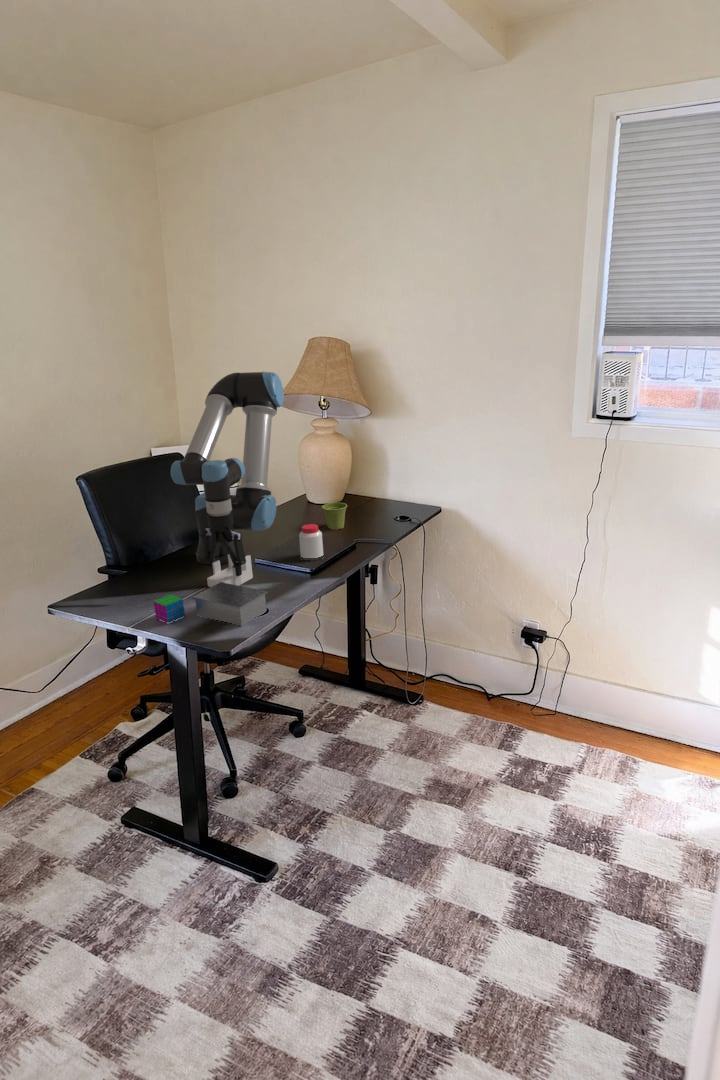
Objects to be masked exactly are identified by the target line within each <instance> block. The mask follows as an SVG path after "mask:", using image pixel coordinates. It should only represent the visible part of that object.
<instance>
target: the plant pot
mask: <svg viewBox="0 0 720 1080" xmlns="http://www.w3.org/2000/svg"><path fill="white" fill-rule="evenodd" d="M321 508H322V509H323V512H324V516H325V520H326V524H327V525H326V526H327V528H328V529H329V530H331V531H338V530H341V529H344V527H345V520H346V519H345V518H346V517H345V516H346V510H347V508H348V504H346V503H344V502H329V503H326V504H323V505H322V506H321Z"/></svg>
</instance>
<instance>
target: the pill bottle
mask: <svg viewBox="0 0 720 1080" xmlns="http://www.w3.org/2000/svg"><path fill="white" fill-rule="evenodd" d="M298 539H299V552H300V558H301V557H303V558H318V557H321V556H323V555H324V544H323V543H324V542H323V532H322V531H321V530H320V529H319V525H317V524H316V523H308V524H304V525H302V526H301V532H299V534H298Z"/></svg>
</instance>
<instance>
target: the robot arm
mask: <svg viewBox="0 0 720 1080" xmlns="http://www.w3.org/2000/svg"><path fill="white" fill-rule="evenodd" d="M207 393H208V394H207V395H206V398H205V401H204V404H205V408H204V410H203V413H202V416H201V417H200V420H199V422H198V424H197V427H196V429H195V432H194V434H193V436H192V439H191V441H190V444H189V446H188V448H187V450H186V453H185V455H184V457H183V459H180V460H174V462H172V464H171V466H170V477H171V479H172V481H173V483H175V484H176V485H185V486H196V485H198V486H199V485H201V486H203V492H204V493H201V494H199V495H197V497H195V499H194V502H195V503H194V504H195V505H194V506H195V509H194V510H195V514H196V516H195V517H196V521H197V530H198V538H199V539H198V544H197V548H196V553H195V555H196V561H197V562H198V563H199V564H203V565H209V566H211V567H210V568H211V571H212V572H213V575H214V574H216V573H218V572H220V571H222V567H221V565H224V564H229V562H228V555H230V557H231V560H232V562H233V565H234V566H232V573H233V581H234V585H239V586H241V585H243V584H242V583H241V575H242V570H241V565H243V564H245V563H246V558H245V556H246V554H245V549H244V544H243V533H242V532H235V531H238V530H239V531H254V532H257V531H266V530H268V529H270V528H271V527H272V525H273V523H274V521H275V518H276V514H277V501H276V498H275V496H273V495H272V491H271V490H270V488H269V487H268V480H269V479H268V476H269V463H270V462H269V461H270V452H271V451H270V447H271V437H272V436H271V434H272V421H273V417H274V416H276V415H277V412H278V408H280V407H282V406H283V405H284V402H285V393H284V386H283V383H282V380H281V378H280V377H279V375H278V374H277V373H275V372H273V371H271V372H270V371H259V372H258V371H255V372H251V371H250V372H232V373H230V374H227V375H226V376H225V375H224V377H221V378H220V379H219V380H218V381H217V382H216V383H215V384H214V385H213V386H212V388H211V389H210V390H209V392H207ZM237 408H242V412H243V413H244V414H245V416H246V417H245V419H246V420H245V432H244V443H243V444H244V446H243V455H242V456H243V457H242V461H241V459H239V458H236V457H229V458H226V459H224V460H221V459H220V460H219V459H217V460H210V459H211V457H212V454H213V451H214V449H215V447H216V446H217V445H216V444H217V441H218V439H219V437H220V434H221V432H222V430H223V427H224V425H225V422H226V420H227V416H230V415H231V414H232V413H233V411H234V409H237ZM240 481H241V483H240V485H239V486H238V487H237V488H235V490H236V491H235V494H231V490H230V488H231V487H233V485H235V484H237V483H239V482H240ZM240 584H241V585H240Z"/></svg>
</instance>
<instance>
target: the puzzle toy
mask: <svg viewBox="0 0 720 1080" xmlns="http://www.w3.org/2000/svg"><path fill="white" fill-rule="evenodd" d="M153 608H154V613H155V619H156V618H158V619H161V620H163V621H165V622H171V621H173V620H176V619H178V618H181V617H183V616H185V617H186V614H185V606H184V599H183V598H180V597H178V596H175V595H173V594H168V595H166V596H162V597H161V598H158V599H155V600H154V601H153Z"/></svg>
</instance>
